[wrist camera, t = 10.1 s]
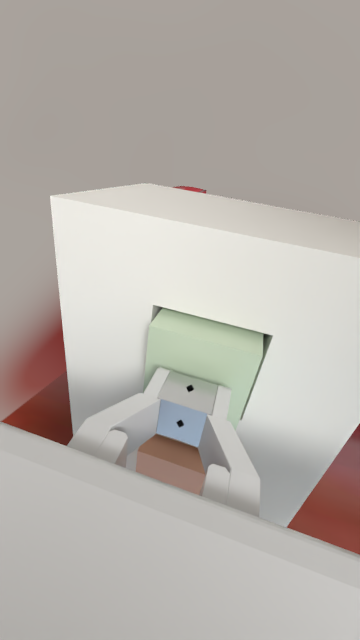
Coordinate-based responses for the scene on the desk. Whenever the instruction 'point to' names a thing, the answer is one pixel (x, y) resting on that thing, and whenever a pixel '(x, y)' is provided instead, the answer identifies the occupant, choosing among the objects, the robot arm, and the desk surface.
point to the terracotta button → (171, 463)
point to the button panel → (218, 314)
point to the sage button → (205, 354)
